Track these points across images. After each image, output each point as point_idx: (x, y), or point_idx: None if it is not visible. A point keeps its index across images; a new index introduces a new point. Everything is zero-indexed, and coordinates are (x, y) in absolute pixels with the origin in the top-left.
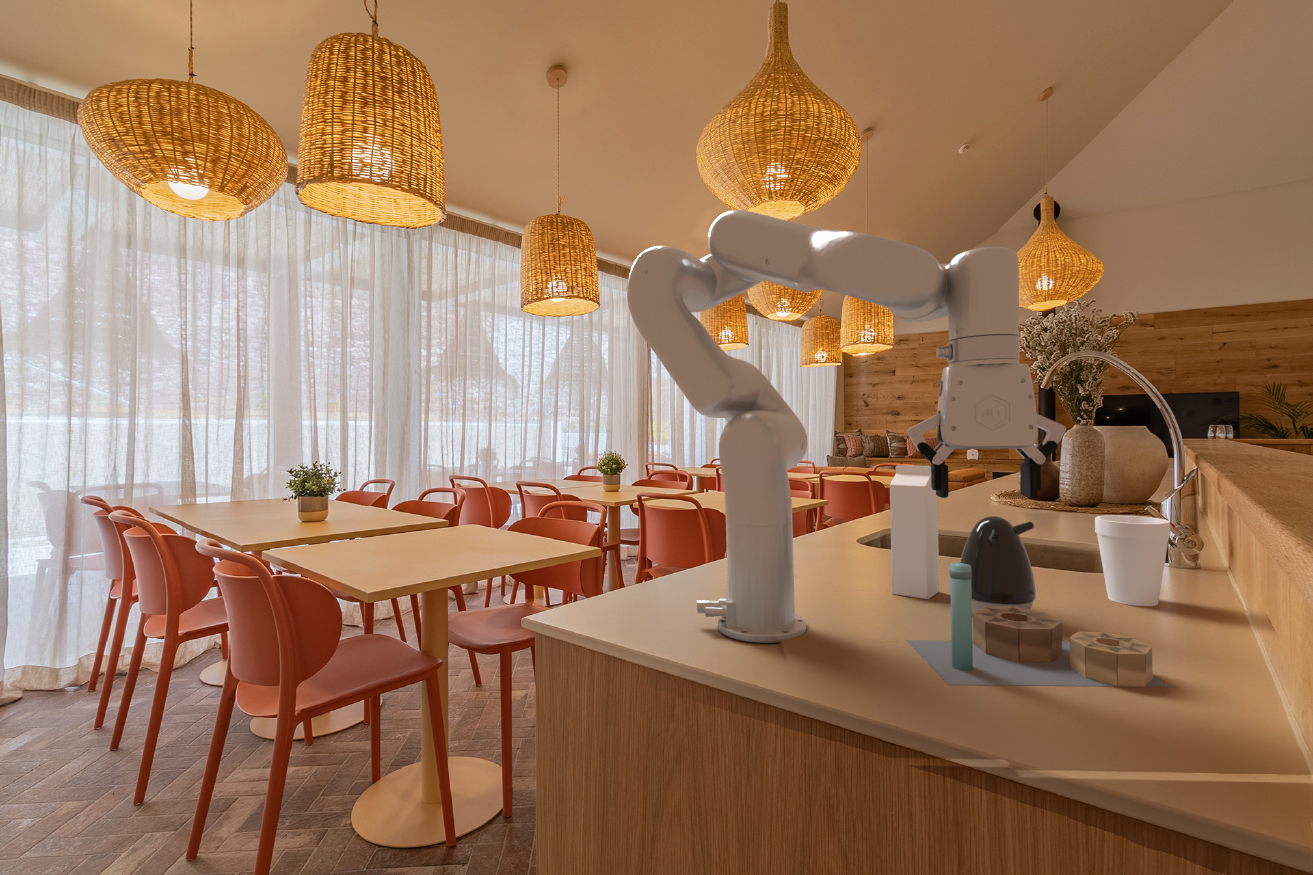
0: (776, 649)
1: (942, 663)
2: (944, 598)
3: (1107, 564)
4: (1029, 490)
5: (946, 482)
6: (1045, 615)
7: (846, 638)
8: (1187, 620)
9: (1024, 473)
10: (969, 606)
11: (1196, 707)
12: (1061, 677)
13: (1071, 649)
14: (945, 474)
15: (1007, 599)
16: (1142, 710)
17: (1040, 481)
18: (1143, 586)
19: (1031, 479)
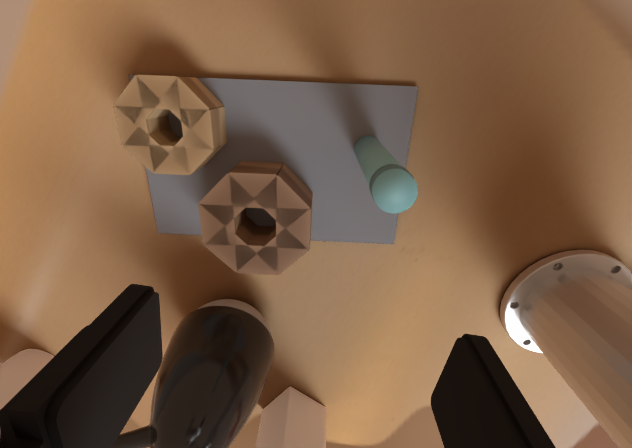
0: (577, 231)
1: None
2: (266, 388)
3: None
4: (144, 310)
5: (498, 382)
6: (208, 232)
7: (462, 264)
8: (6, 302)
9: (104, 413)
10: (374, 154)
11: (126, 20)
12: (254, 108)
13: (218, 142)
14: (525, 422)
15: (225, 310)
16: (199, 11)
17: (67, 345)
18: (13, 368)
19: (105, 341)
